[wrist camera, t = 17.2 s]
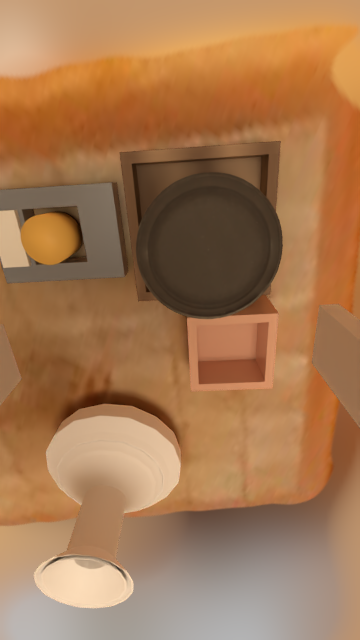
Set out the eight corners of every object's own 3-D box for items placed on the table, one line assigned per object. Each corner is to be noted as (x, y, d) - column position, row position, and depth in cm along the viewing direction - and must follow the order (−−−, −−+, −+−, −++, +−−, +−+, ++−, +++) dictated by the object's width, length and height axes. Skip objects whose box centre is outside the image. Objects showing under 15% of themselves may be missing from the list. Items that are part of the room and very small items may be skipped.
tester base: (17, 277, 38) (4, 284, 35) (-8, 190, 34) (-25, 191, 31) (128, 271, 37) (123, 278, 34) (116, 182, 33) (110, 182, 30)
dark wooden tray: (142, 289, 38) (138, 301, 35) (127, 155, 32) (119, 152, 28) (261, 283, 38) (270, 294, 34) (269, 145, 31) (280, 141, 28)
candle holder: (162, 492, 54) (151, 640, 37) (51, 467, 52) (-17, 612, 35) (198, 409, 46) (206, 548, 29) (68, 375, 44) (-9, 503, 26)
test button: (44, 257, 36) (28, 266, 32) (33, 212, 33) (14, 216, 30) (85, 255, 35) (74, 263, 32) (77, 210, 33) (64, 213, 30)
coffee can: (135, 224, 34) (105, 249, 21) (204, 152, 31) (218, 132, 18) (196, 288, 37) (202, 344, 24) (264, 229, 34) (312, 257, 21)
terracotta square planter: (190, 364, 43) (190, 391, 37) (186, 298, 39) (186, 317, 33) (261, 361, 42) (272, 388, 37) (265, 294, 38) (278, 313, 33)
